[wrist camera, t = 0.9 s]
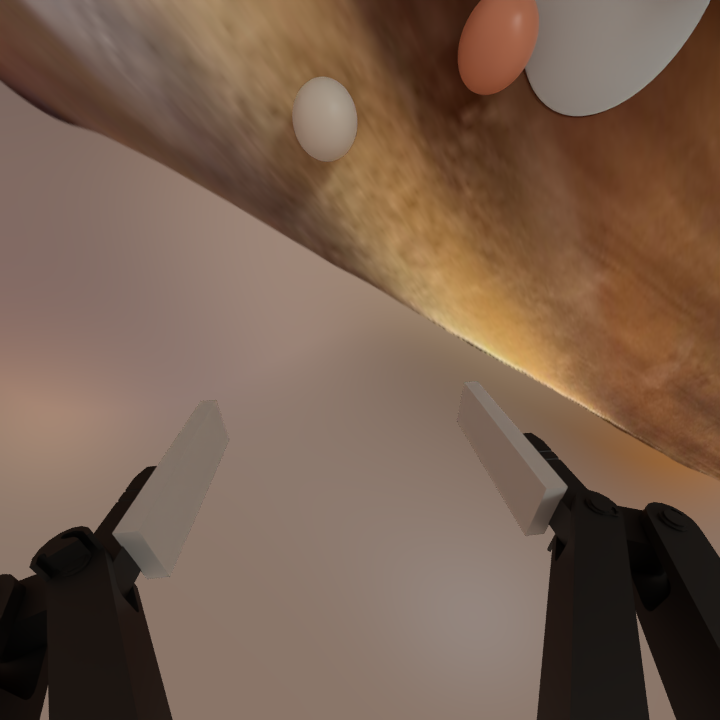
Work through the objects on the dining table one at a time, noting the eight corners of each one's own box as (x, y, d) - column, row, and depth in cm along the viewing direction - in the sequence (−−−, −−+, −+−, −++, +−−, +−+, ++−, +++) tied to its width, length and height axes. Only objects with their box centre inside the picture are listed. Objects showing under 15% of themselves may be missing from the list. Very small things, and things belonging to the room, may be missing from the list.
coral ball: (517, -10, 21) (558, -56, 17) (518, 84, 24) (553, 67, 20) (445, 25, 22) (465, -9, 18) (454, 111, 25) (473, 100, 21)
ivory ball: (346, 73, 24) (341, 52, 20) (365, 149, 27) (365, 146, 23) (289, 100, 25) (272, 87, 21) (313, 170, 28) (304, 172, 24)
